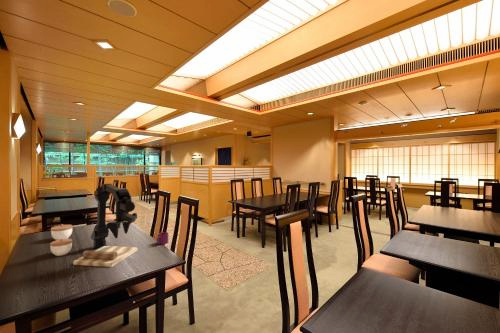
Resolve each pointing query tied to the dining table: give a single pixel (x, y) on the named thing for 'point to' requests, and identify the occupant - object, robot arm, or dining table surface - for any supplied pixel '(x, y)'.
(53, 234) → the lidded bowl
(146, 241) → the dining table surface
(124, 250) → the stool board
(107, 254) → the stool leg
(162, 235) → the mug
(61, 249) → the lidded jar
